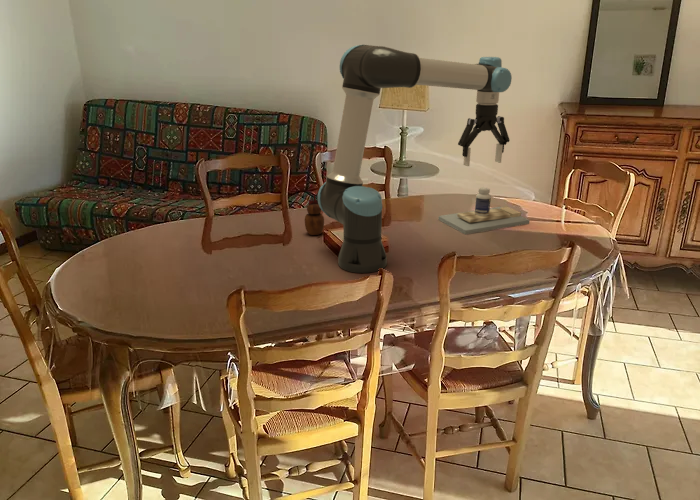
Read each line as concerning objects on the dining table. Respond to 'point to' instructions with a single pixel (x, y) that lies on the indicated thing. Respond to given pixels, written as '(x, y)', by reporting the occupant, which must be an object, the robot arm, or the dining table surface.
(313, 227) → the wooden figurine
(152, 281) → the dining table surface
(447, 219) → the floor panel
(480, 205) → the pill bottle
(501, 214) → the plank
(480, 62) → the robot arm
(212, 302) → the dining table surface
